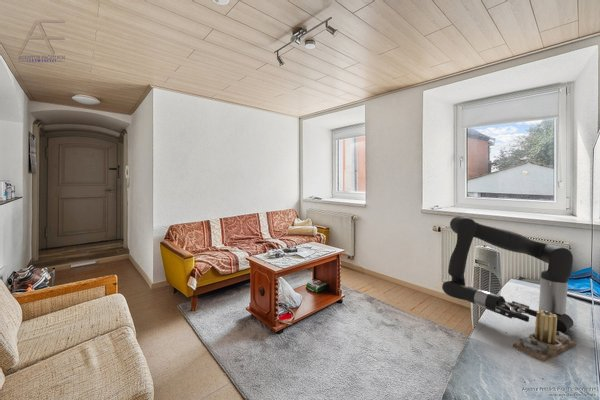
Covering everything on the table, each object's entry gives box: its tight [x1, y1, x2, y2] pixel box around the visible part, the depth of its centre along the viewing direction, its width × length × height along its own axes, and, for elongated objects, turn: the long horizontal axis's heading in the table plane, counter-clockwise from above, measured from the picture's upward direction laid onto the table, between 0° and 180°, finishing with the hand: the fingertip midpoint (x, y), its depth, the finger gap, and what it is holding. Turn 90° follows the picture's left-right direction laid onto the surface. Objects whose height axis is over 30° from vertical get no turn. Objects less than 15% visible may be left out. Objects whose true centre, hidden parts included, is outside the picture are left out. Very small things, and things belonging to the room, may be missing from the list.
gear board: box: [512, 331, 577, 362], centre depth 100 cm, size 25×9×4 cm, turn 116°
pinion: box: [534, 309, 557, 345], centre depth 100 cm, size 6×6×12 cm
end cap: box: [551, 312, 574, 334], centre depth 111 cm, size 10×7×7 cm
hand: (534, 317), depth 103 cm, fingers open, 8 cm apart
